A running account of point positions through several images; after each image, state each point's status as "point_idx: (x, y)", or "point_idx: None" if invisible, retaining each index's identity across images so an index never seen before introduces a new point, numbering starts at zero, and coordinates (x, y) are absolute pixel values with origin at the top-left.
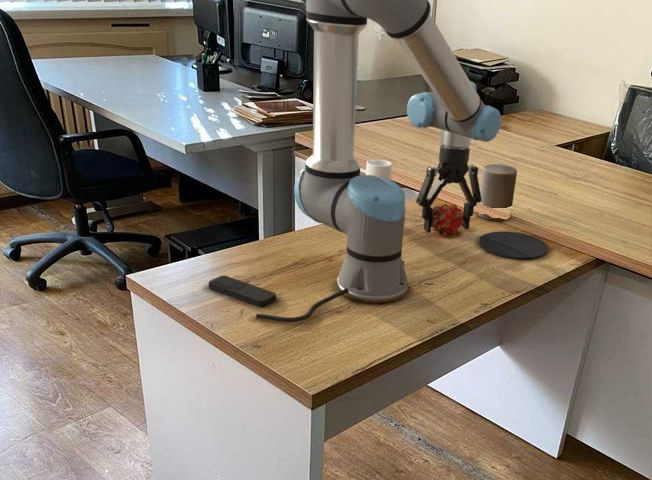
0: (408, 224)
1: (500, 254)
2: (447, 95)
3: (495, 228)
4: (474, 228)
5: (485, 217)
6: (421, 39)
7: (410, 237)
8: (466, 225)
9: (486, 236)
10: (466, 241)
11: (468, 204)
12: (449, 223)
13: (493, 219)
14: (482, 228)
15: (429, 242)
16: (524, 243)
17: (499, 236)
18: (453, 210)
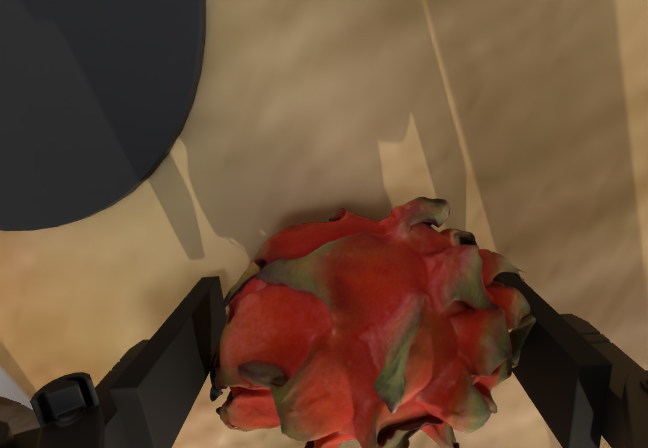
0: (507, 420)
1: None
2: None
3: (25, 304)
4: (152, 321)
5: None
6: None
7: (601, 248)
8: (211, 292)
9: (115, 161)
10: (271, 133)
11: (131, 426)
12: (391, 222)
13: (7, 403)
14: (104, 314)
15: (525, 152)
16: None
17: (25, 147)
18: (336, 330)
